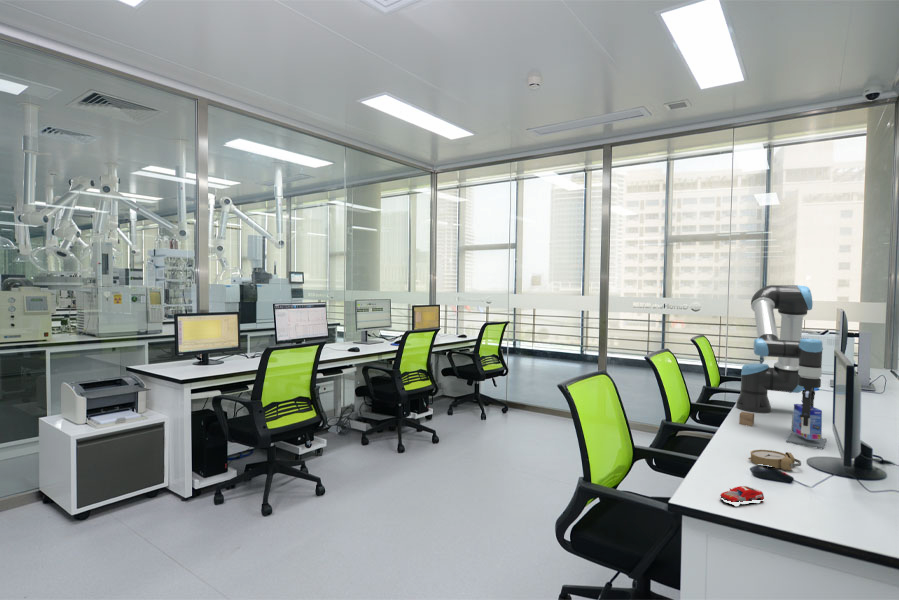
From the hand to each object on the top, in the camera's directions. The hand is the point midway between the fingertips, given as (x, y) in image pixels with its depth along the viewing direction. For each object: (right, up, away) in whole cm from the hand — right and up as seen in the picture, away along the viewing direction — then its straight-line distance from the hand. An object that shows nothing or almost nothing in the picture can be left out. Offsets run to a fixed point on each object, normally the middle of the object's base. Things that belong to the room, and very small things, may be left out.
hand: (806, 430), depth 195 cm
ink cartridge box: (0, -3, 0) cm, 3 cm away
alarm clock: (-31, -5, -26) cm, 41 cm away
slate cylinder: (+6, -4, +13) cm, 15 cm away
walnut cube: (-10, -4, +24) cm, 26 cm away
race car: (-61, -6, -55) cm, 82 cm away
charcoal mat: (0, -5, 0) cm, 5 cm away
